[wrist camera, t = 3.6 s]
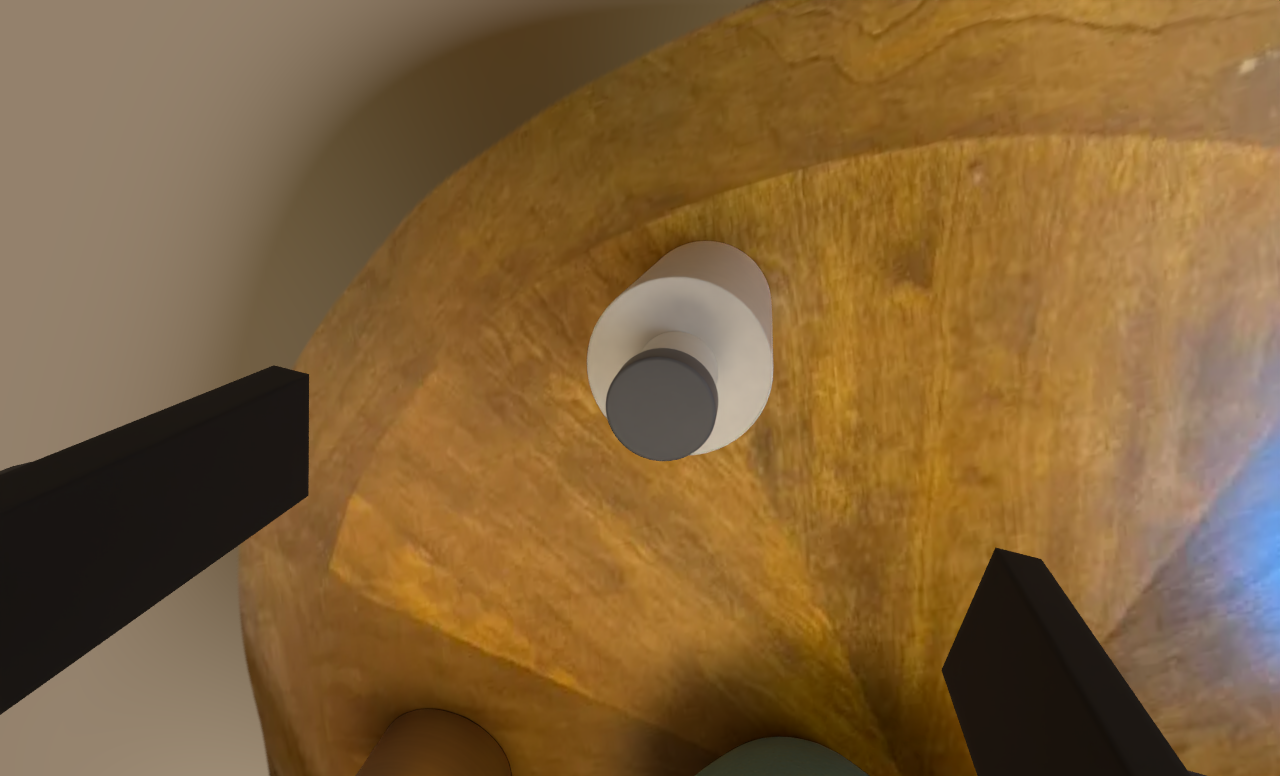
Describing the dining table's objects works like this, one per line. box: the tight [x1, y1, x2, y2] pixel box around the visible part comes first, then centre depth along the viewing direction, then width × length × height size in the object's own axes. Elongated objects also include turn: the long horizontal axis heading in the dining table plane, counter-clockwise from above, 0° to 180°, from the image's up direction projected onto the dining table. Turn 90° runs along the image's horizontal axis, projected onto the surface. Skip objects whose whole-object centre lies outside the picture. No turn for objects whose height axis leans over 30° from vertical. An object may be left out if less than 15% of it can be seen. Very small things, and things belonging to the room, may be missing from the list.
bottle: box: [587, 241, 773, 461], centre depth 24 cm, size 6×6×14 cm
